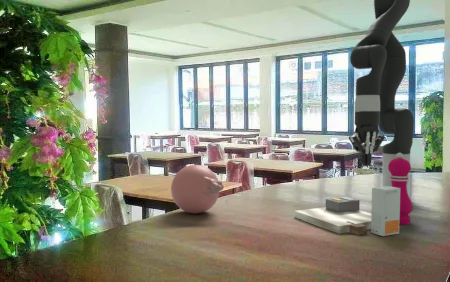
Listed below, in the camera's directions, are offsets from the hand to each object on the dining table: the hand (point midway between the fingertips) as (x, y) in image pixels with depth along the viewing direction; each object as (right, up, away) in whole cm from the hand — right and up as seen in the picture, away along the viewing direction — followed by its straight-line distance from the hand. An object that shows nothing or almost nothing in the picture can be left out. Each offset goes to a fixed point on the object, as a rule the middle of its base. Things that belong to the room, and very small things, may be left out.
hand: (366, 165), depth 131 cm
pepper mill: (+6, -16, -11) cm, 20 cm away
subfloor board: (-10, -16, -11) cm, 22 cm away
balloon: (-52, -16, +1) cm, 54 cm away
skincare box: (-3, -17, -23) cm, 28 cm away
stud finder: (-8, -13, -3) cm, 16 cm away
